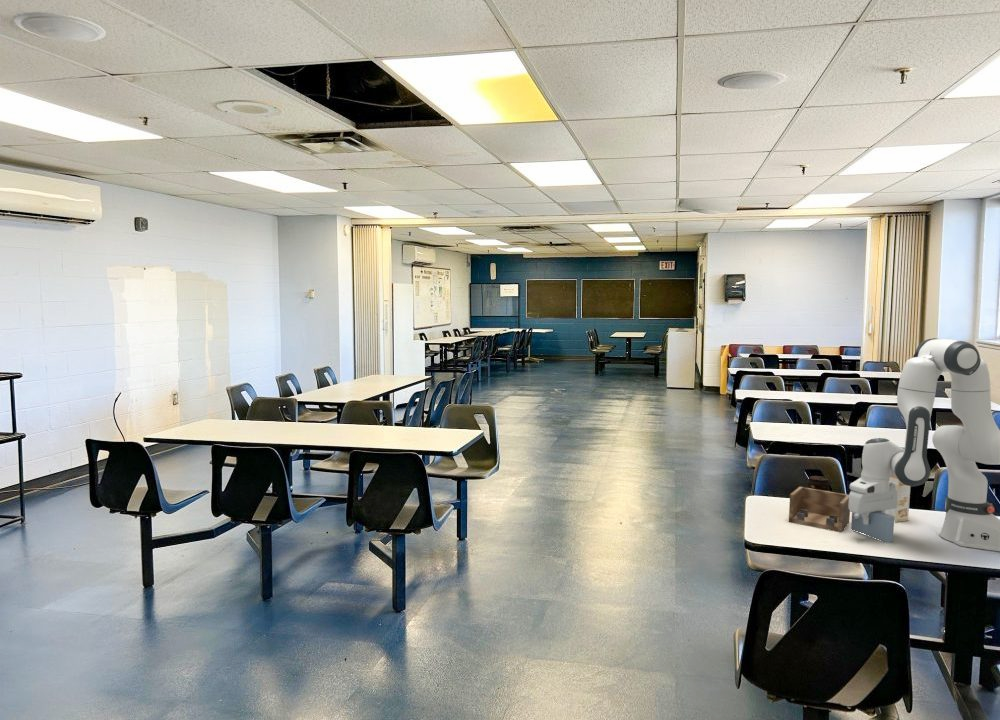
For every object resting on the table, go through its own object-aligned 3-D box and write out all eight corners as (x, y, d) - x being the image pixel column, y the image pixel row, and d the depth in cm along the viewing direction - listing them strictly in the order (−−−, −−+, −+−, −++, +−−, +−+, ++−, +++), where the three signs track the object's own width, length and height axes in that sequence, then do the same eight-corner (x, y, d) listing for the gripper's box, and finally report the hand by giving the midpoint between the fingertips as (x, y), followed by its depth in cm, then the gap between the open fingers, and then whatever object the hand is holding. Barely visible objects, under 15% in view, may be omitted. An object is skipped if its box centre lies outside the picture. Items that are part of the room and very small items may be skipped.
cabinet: (849, 522, 254) (850, 495, 253) (841, 532, 243) (843, 503, 242) (798, 513, 265) (799, 486, 264) (788, 521, 254) (790, 494, 253)
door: (892, 542, 234) (894, 516, 233) (883, 543, 232) (885, 517, 232) (857, 529, 247) (858, 504, 246) (848, 530, 245) (850, 506, 244)
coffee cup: (831, 509, 270) (832, 477, 269) (828, 514, 263) (830, 481, 262) (807, 505, 275) (808, 473, 274) (803, 510, 268) (805, 478, 267)
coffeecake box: (909, 520, 257) (912, 470, 256) (895, 522, 255) (898, 471, 253) (874, 509, 271) (877, 461, 269) (861, 511, 268) (864, 462, 267)
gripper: (887, 479, 245) (885, 517, 246) (846, 484, 237) (843, 523, 238) (903, 484, 239) (901, 522, 241) (861, 489, 231) (859, 529, 233)
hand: (872, 523), depth 239 cm, fingers open, 4 cm apart
